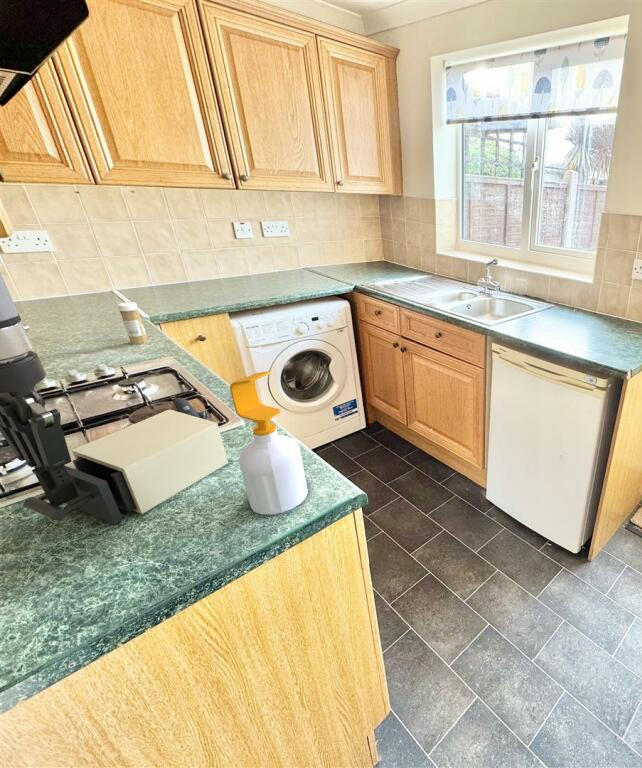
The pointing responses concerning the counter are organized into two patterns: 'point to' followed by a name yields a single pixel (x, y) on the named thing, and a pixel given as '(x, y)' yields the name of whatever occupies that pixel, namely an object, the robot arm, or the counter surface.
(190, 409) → the grey club-shaped piece
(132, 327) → the sprinkles bottle
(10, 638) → the counter surface
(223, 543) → the counter surface
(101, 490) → the dark grey drawer
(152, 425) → the drawer box
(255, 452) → the spray bottle
